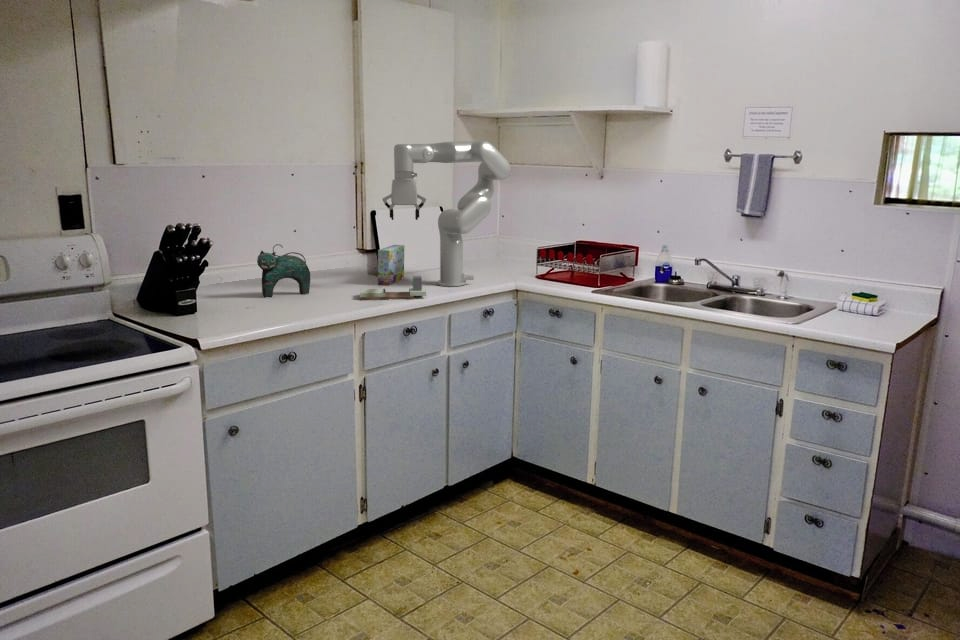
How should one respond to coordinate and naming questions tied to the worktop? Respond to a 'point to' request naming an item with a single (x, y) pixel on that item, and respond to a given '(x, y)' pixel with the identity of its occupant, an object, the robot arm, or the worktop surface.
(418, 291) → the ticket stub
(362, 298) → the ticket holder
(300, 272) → the ceramic cat
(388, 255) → the snack box
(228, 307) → the worktop surface
